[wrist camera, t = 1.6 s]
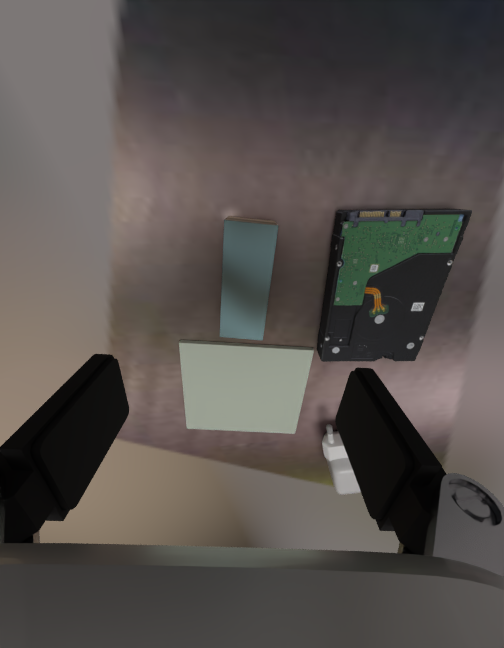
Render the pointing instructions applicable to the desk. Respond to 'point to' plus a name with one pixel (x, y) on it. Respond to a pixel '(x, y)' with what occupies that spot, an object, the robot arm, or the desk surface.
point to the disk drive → (386, 281)
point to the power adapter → (339, 463)
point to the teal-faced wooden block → (246, 276)
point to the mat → (243, 385)
